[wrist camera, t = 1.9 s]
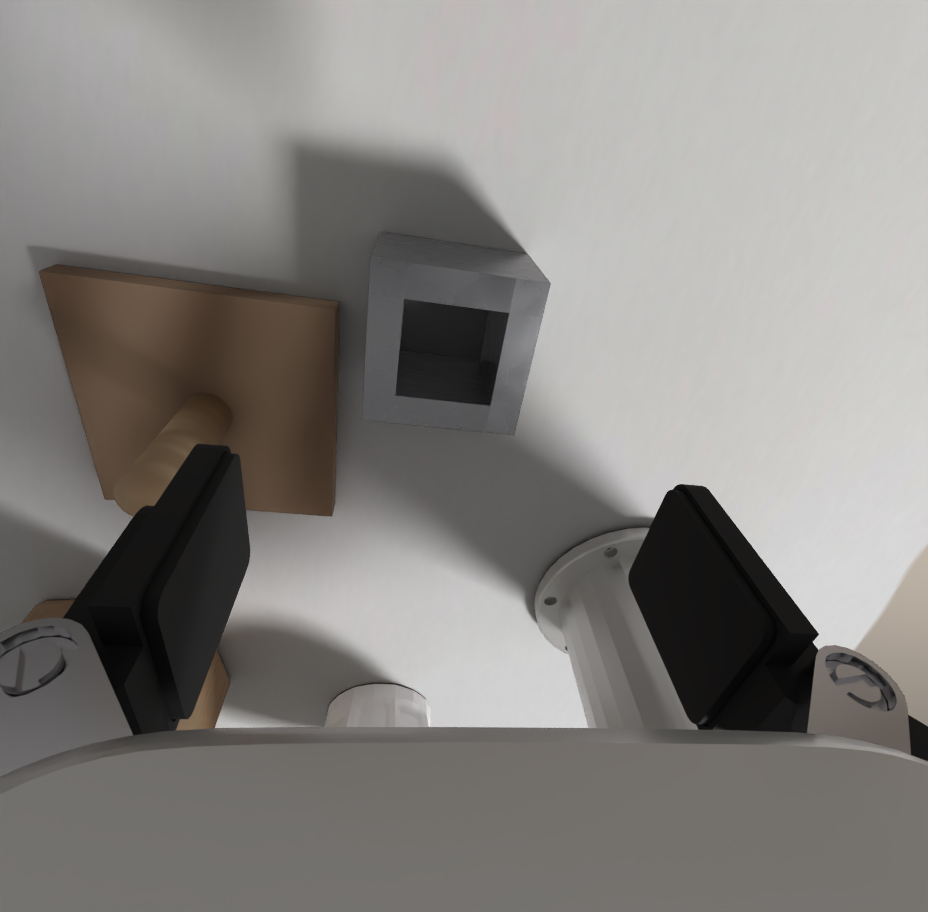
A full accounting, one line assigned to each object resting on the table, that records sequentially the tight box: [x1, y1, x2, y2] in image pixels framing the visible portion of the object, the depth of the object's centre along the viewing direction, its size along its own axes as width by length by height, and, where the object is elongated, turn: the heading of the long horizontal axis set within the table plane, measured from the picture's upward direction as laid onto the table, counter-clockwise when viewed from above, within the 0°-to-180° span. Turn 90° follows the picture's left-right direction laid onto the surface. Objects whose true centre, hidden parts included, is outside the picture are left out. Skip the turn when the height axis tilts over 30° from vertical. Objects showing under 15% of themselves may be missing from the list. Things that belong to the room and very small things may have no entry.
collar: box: [362, 232, 551, 435], centre depth 22 cm, size 7×7×5 cm
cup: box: [324, 684, 430, 727], centre depth 38 cm, size 12×12×11 cm
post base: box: [39, 264, 339, 517], centre depth 23 cm, size 12×12×8 cm
